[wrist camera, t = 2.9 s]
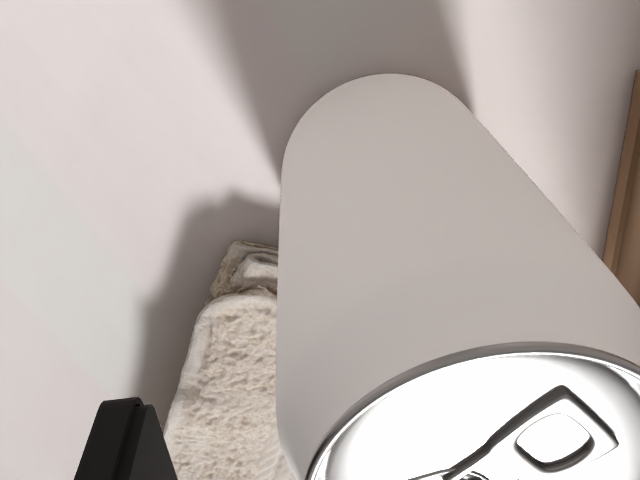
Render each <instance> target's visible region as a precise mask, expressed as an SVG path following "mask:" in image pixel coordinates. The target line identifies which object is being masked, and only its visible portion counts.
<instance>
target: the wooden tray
mask: <svg viewBox="0 0 640 480" xmlns="http://www.w3.org/2000/svg"><path fill="white" fill-rule="evenodd" d="M602 262H603V263H604V264H605V265H606V266H607V267H608V269H609V270H610V271H611V272H612V273H613V274H614V276H615V277H616V278H617V279H618V281H619V282H620V283H621V284H622V286H623V287H624V288H625V289H626V291H627V292H628V293H629V294H630V296H631V297H632V298H633V299H634V301H635V302H636V303H637V305H638V306H639V308H640V70H637V71H636V76H635V82H634V88H633V93H632V99H631V104H630V110H629V116H628V121H627V127H626V132H625V138H624V144H623V149H622V155H621V161H620V166H619V172H618V177H617V183H616V189H615V194H614V200H613V205H612V211H611V217H610V222H609V228H608V233H607V239H606V245H605V250H604V256H603V261H602Z"/></svg>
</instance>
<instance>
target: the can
mask: <svg viewBox="0 0 640 480" xmlns="http://www.w3.org/2000/svg"><path fill="white" fill-rule="evenodd" d="M275 391H276V419H277V428H278V435H279V440H280V444H281V448H282V451H283V453H284V456H285V458H286V461H287V463H288V465H289V468H290V469H291V471H292V473H293V475H294V477H295V479H296V480H640V308H639V306H638V305H637V303H636V302H635V301H634V299H633V298H632V297H631V296H630V294H629V293H628V292H627V291H626V289H625V288H624V287H623V286H622V284H621V283H620V282H619V281H618V279H617V278H616V277H615V276H614V274H613V273H612V272H611V271H610V270H609V269H608V267H607V266H606V265H605V264H604V263H603V262H602V260H601V259H600V258H599V257H598V256H597V255H596V253H595V252H594V251H593V250H592V249H591V248H590V246H589V245H588V244H587V243H586V242H585V241H584V239H583V238H582V237H581V236H580V235H579V234H578V233H577V231H576V230H575V229H574V228H573V227H572V226H571V225H570V223H569V222H568V221H567V220H566V219H565V218H564V216H563V215H562V214H561V213H560V212H559V211H558V210H557V208H556V207H555V206H554V205H553V204H552V203H551V202H550V200H549V199H548V198H547V197H546V196H545V195H544V194H543V192H542V191H541V190H540V189H539V188H538V187H537V186H536V184H535V183H534V182H533V181H532V180H531V179H530V178H529V177H528V175H527V174H526V173H525V172H524V171H523V170H522V169H521V167H520V166H519V165H518V164H517V163H516V162H515V161H514V159H513V158H512V157H511V156H510V155H509V154H508V153H507V152H506V150H505V149H504V148H503V147H502V146H501V145H500V144H499V143H498V141H497V140H496V139H495V138H494V137H493V136H492V135H491V134H490V132H489V131H488V130H487V129H486V128H485V127H484V126H483V125H482V124H481V122H480V121H479V120H478V119H477V118H476V117H475V116H474V115H473V114H472V113H471V112H470V110H469V109H468V108H467V107H466V106H465V105H464V104H463V103H462V102H461V101H460V100H459V99H458V98H456V97H455V96H454V95H453V94H451V93H450V92H449V91H447V90H446V89H444V88H442V87H441V86H439V85H437V84H435V83H433V82H431V81H428V80H426V79H423V78H419V77H416V76H411V75H405V74H376V75H370V76H365V77H361V78H358V79H355V80H352V81H349V82H347V83H345V84H343V85H341V86H339V87H337V88H335V89H333V90H332V91H330V92H328V93H327V94H326V95H324V96H323V97H322V98H320V99H319V100H318V101H317V102H316V103H315V104H313V105H312V106H311V107H310V108H309V109H308V111H307V112H306V113H305V114H304V115H303V117H302V118H301V119H300V121H299V122H298V124H297V125H296V127H295V129H294V130H293V132H292V134H291V137H290V139H289V141H288V144H287V147H286V150H285V154H284V158H283V164H282V174H281V191H280V217H279V249H278V284H277V323H276V376H275Z"/></svg>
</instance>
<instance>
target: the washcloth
mask: <svg viewBox="0 0 640 480" xmlns="http://www.w3.org/2000/svg"><path fill="white" fill-rule="evenodd" d="M278 249H279V248H277V247H272V246H267V245H263V244H259V243H251V242H246V241H240V240H239V241H234V242H233V243H232V244H231V245H230V246H229V247H228V253H227V254H226V255H225V256H224V258H223V260H222V262H221V269H220V270H218V275H217V277H216V278H215V280H214V281H213V283H212V284H211V286H210V296H209V297H208V298H207V299H206V300H205V303H204V308H203V309H202V310H201V312H200V313H199V314H198V316H197V319H196V322H195V325H194V328H193V332H192V336H191V339H190V345H189V347H188V354H187V356H186V359H185V362H184V366H183V368H182V371H181V376H180V379H179V384H178V386H177V391H176V394H175V396H174V399H173V401H172V403H171V407H170V410H169V412H168V417H167V420H166V424H165V427H164V432H163V436H164V439H165V442H166V445H167V448H168V451H169V454H170V457H171V460H172V463H173V466H174V469H175V472H176V475H177V478H178V480H296V479H295V477H294V475H293V473H292V471H291V469H290V468H289V465H288V463H287V461H286V458H285V456H284V453H283V451H282V448H281V444H280V440H279V435H278V428H277V419H276V391H275V376H276V323H277V284H278Z"/></svg>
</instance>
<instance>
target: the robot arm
mask: <svg viewBox="0 0 640 480" xmlns="http://www.w3.org/2000/svg"><path fill="white" fill-rule="evenodd" d="M74 480H178V478H177V475H176V472H175V469H174V466H173V463H172V460H171V457H170V454H169V451H168V448H167V445H166V442H165V439H164V436H163V433H162V430H161V427H160V424H159V421H158V418H157V415H156V412H155V409H154V407H153V406H152V405H143V402H142V400H141V399H140V398H139V397H134V398H125V399H116V400H107V401H103V402H102V403H101V405H100V407H99V409H98V412H97V414H96V417H95V420H94V423H93V426H92V429H91V432H90V435H89V437H88V440H87V443H86V446H85V449H84V452H83V455H82V458H81V461H80V463H79V466H78V469H77V472H76V475H75V478H74Z"/></svg>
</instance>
